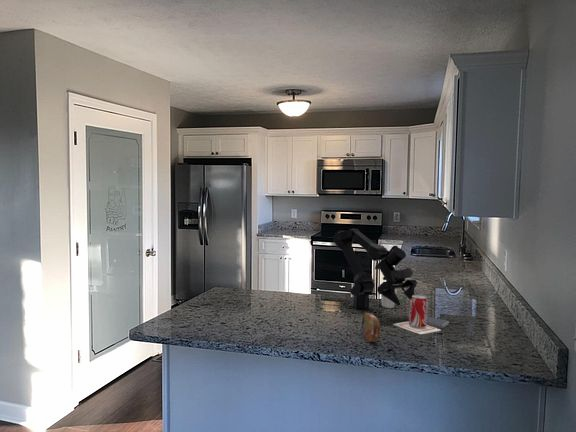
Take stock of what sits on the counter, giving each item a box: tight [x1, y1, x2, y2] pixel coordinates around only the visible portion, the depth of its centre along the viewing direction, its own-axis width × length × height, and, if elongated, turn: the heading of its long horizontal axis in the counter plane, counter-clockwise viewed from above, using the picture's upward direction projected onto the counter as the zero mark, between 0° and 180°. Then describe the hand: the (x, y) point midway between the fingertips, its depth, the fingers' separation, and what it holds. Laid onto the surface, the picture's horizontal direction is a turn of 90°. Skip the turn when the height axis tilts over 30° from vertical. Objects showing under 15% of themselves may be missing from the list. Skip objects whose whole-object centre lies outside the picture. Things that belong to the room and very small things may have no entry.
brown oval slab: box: [361, 312, 381, 343], centre depth 163 cm, size 15×3×8 cm, turn 5°
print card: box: [392, 320, 442, 335], centre depth 180 cm, size 14×12×1 cm
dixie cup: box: [379, 283, 398, 309], centre depth 212 cm, size 8×8×10 cm
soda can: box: [408, 294, 429, 328], centre depth 180 cm, size 7×7×12 cm
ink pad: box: [426, 316, 450, 329], centre depth 187 cm, size 11×8×1 cm
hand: (407, 304), depth 184 cm, fingers open, 9 cm apart
